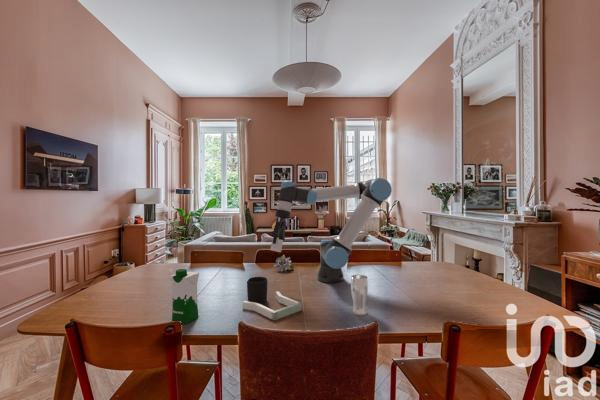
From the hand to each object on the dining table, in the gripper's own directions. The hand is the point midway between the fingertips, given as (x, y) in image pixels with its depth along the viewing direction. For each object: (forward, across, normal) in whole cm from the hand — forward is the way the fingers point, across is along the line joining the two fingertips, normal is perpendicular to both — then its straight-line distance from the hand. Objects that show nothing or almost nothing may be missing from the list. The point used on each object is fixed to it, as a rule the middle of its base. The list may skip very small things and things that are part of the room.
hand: (275, 251), depth 148 cm
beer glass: (+19, +17, +43) cm, 50 cm away
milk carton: (+32, +31, -24) cm, 51 cm away
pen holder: (+24, +9, -2) cm, 26 cm away
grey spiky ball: (+11, -46, -2) cm, 48 cm away
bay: (+24, +17, +7) cm, 30 cm away
